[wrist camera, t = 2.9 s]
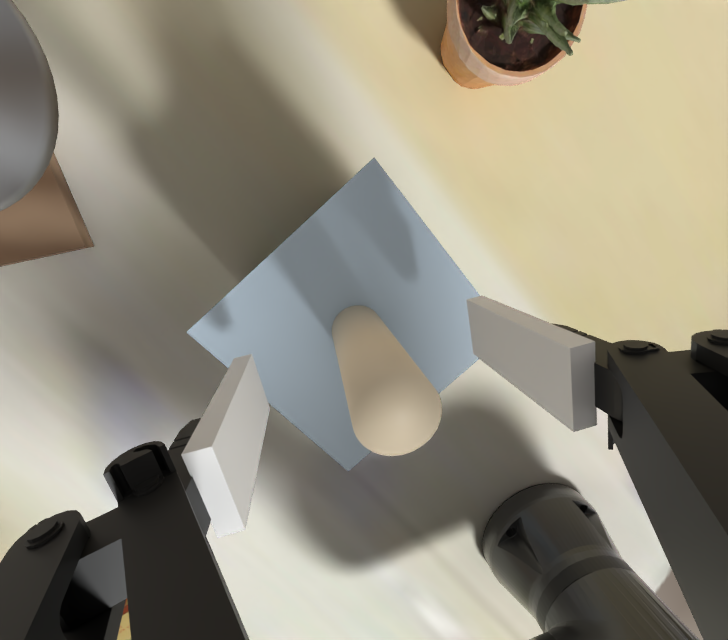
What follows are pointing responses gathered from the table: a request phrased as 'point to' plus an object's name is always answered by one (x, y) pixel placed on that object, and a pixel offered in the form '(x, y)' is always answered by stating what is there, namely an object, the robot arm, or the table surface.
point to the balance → (31, 152)
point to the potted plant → (509, 38)
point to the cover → (352, 323)
